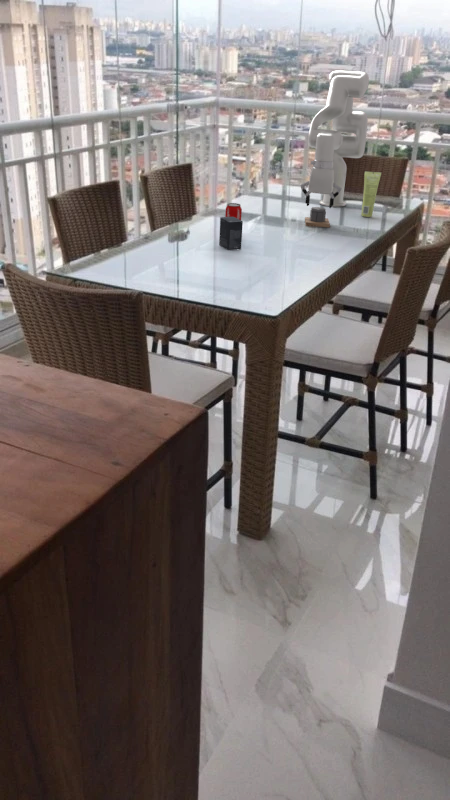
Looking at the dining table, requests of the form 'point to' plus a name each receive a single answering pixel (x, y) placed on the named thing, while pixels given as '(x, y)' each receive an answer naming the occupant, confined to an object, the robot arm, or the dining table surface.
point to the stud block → (317, 223)
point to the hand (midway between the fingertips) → (319, 206)
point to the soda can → (233, 210)
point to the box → (230, 233)
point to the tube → (370, 192)
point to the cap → (317, 214)
